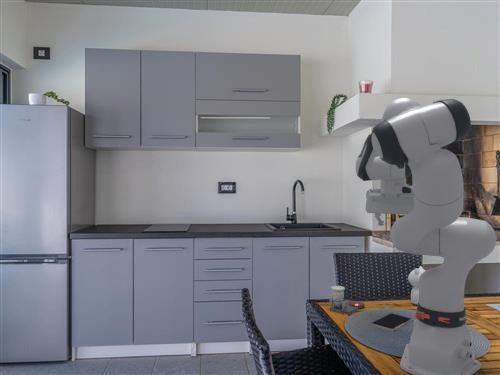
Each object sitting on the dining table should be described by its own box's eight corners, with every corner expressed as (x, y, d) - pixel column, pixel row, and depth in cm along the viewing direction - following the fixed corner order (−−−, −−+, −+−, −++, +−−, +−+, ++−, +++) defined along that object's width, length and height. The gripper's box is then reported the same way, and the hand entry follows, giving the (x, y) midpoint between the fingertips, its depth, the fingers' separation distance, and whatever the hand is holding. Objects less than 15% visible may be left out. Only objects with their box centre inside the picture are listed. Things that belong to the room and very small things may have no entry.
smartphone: (412, 318, 130) (393, 329, 119) (412, 321, 130) (393, 332, 119) (390, 313, 135) (370, 322, 125) (390, 316, 135) (370, 326, 125)
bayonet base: (351, 315, 135) (351, 304, 135) (326, 309, 142) (326, 299, 142) (367, 306, 145) (367, 296, 145) (343, 301, 152) (343, 291, 152)
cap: (340, 302, 138) (340, 290, 138) (328, 299, 141) (328, 287, 141) (347, 298, 142) (347, 286, 142) (335, 296, 146) (335, 284, 146)
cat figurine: (412, 299, 154) (411, 264, 154) (445, 305, 146) (444, 267, 146) (405, 304, 147) (404, 267, 148) (438, 311, 139) (437, 271, 139)
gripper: (362, 189, 138) (362, 225, 138) (419, 188, 124) (419, 229, 125) (369, 188, 143) (370, 223, 143) (424, 188, 129) (425, 227, 129)
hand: (393, 226), depth 134 cm, fingers open, 8 cm apart
